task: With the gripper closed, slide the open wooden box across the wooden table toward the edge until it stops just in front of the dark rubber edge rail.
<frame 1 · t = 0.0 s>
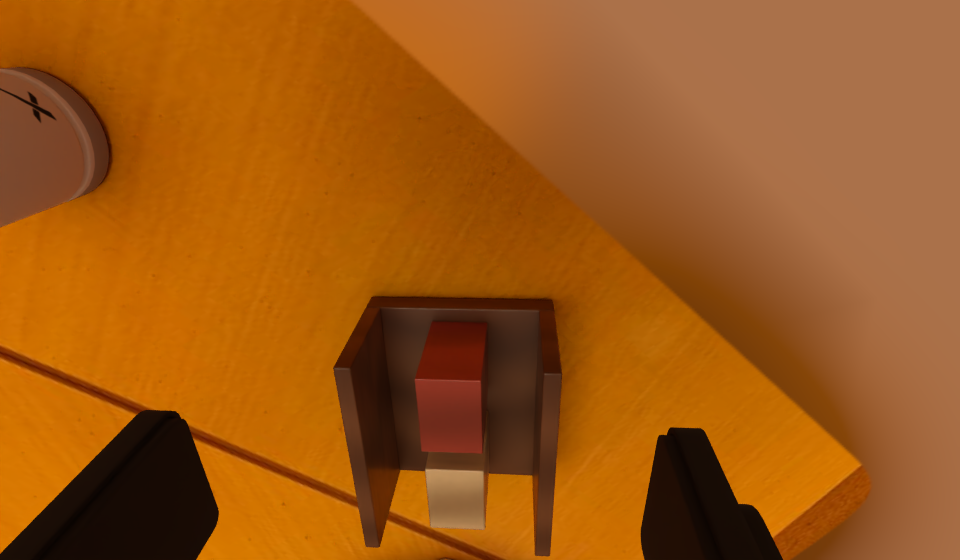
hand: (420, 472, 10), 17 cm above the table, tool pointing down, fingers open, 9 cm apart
open wooden box: (464, 385, 30), on the table
travel mug: (51, 130, 25), on the table
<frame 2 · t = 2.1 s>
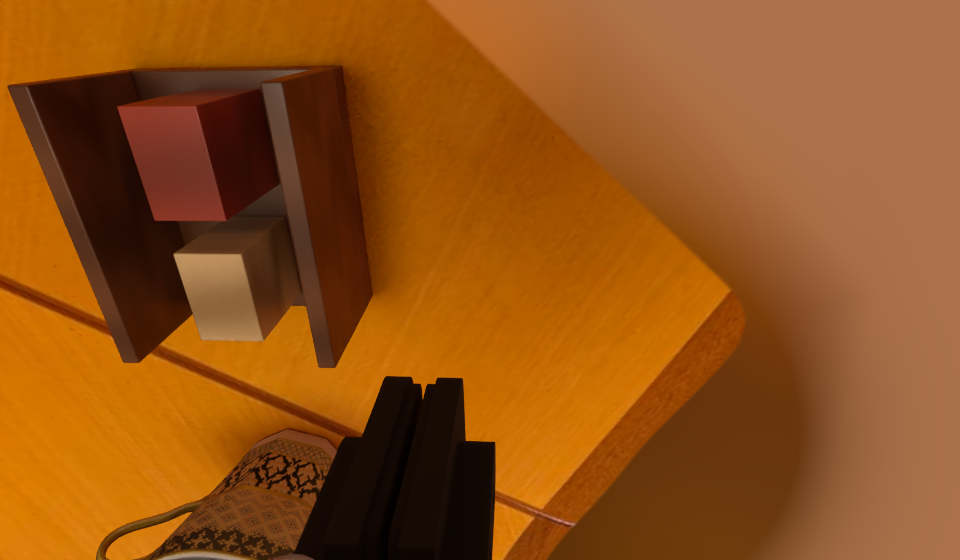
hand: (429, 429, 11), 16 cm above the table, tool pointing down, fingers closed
open wooden box: (263, 193, 26), on the table
ceramic cup: (282, 457, 35), on the table
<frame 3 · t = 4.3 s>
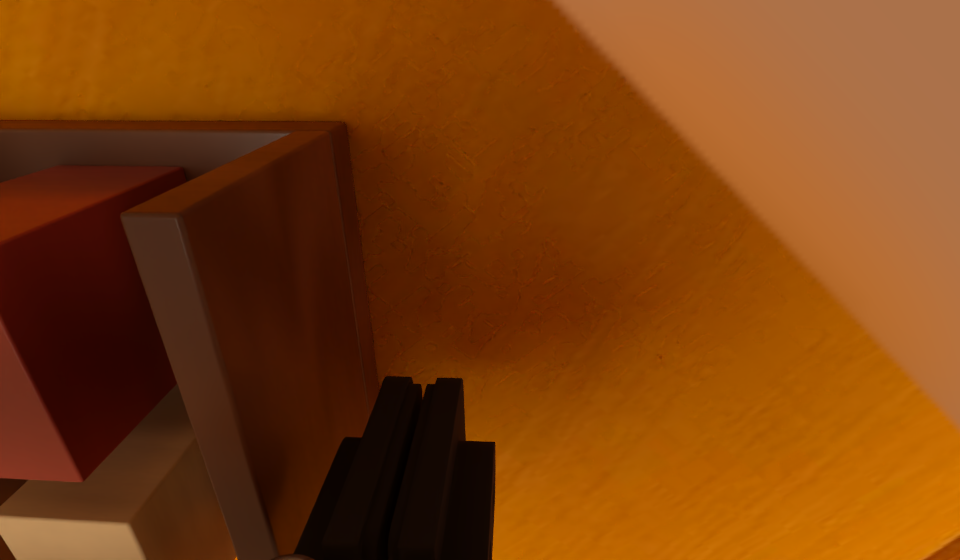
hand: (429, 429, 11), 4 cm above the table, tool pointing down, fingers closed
open wooden box: (206, 330, 15), on the table, touching gripper
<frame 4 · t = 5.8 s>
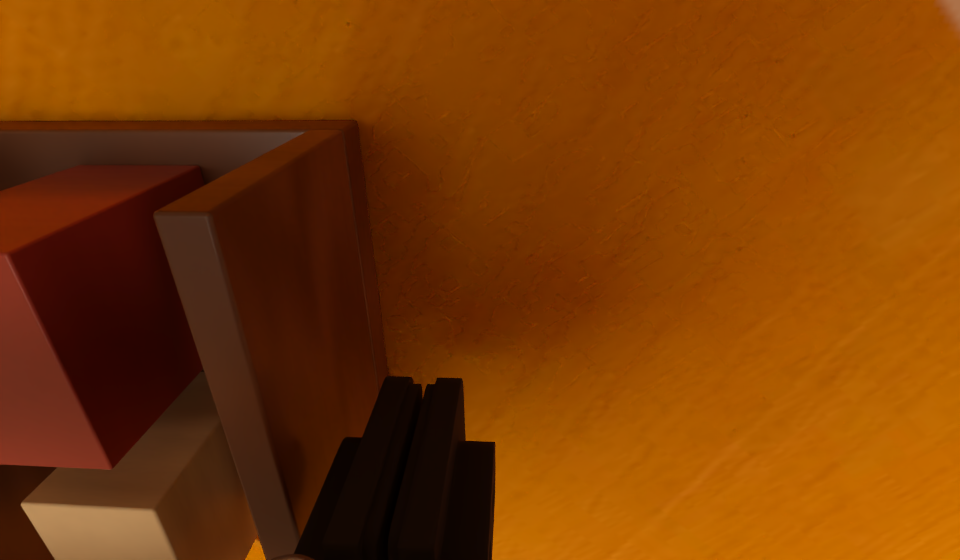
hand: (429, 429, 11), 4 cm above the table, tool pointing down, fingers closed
open wooden box: (221, 325, 15), on the table, touching gripper
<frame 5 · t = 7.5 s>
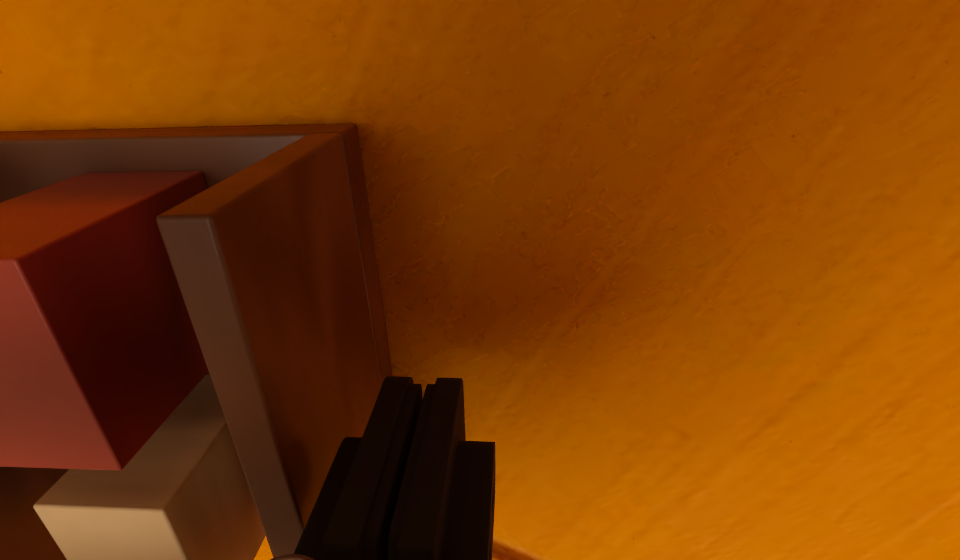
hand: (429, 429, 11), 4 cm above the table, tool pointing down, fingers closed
open wooden box: (226, 328, 15), on the table, touching gripper
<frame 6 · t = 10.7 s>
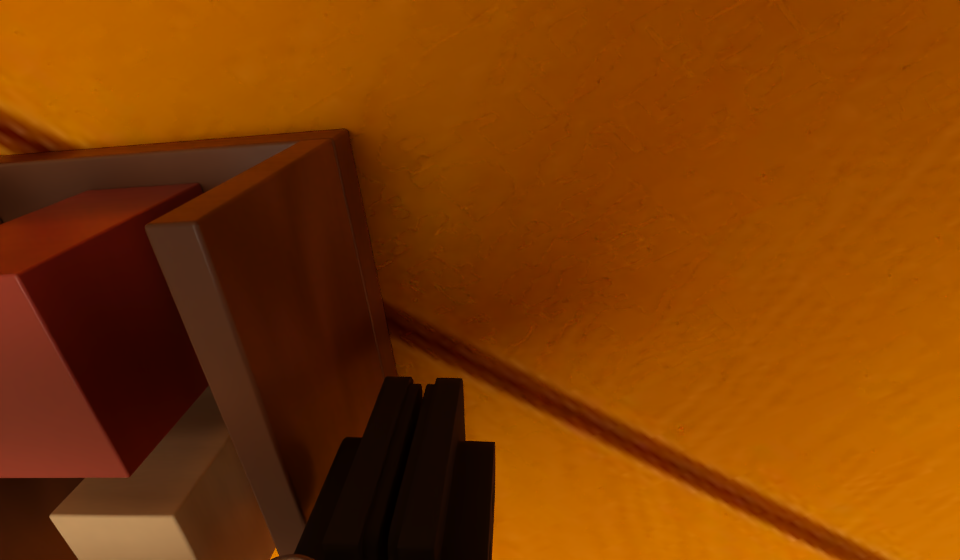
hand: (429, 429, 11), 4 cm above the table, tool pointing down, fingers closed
open wooden box: (233, 337, 16), on the table, touching gripper
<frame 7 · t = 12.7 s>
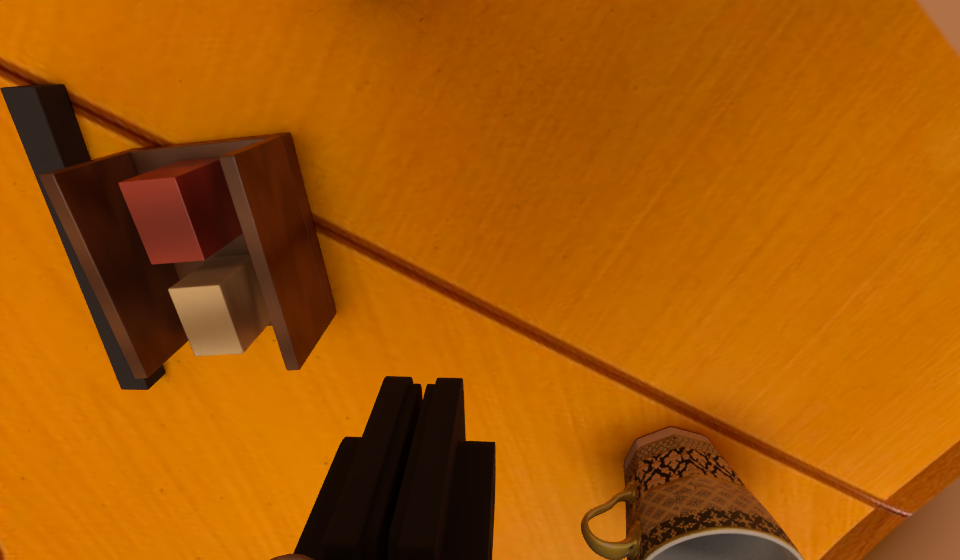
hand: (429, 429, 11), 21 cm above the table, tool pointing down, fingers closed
edge rail: (107, 247, 33), on the table
open wooden box: (240, 236, 32), on the table
ceramic cup: (650, 454, 38), on the table
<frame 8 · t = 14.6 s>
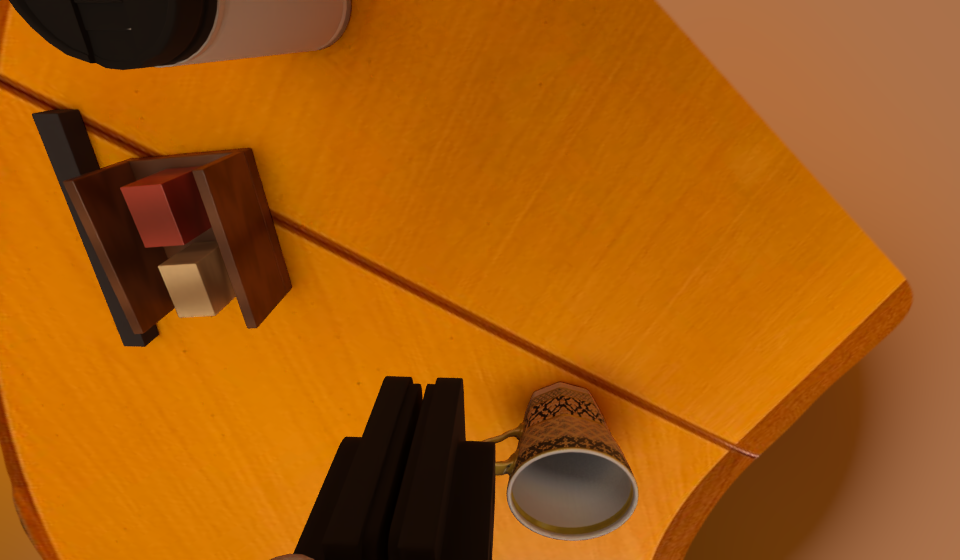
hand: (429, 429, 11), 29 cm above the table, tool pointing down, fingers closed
edge rail: (112, 233, 42), on the table
open wooden box: (215, 226, 41), on the table
ceramic cup: (546, 404, 48), on the table
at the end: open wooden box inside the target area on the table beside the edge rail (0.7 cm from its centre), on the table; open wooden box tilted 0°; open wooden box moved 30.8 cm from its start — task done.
